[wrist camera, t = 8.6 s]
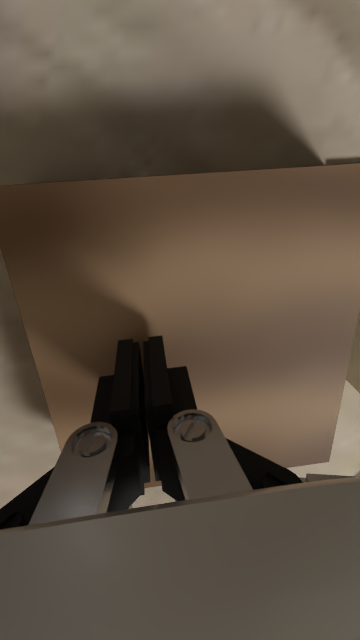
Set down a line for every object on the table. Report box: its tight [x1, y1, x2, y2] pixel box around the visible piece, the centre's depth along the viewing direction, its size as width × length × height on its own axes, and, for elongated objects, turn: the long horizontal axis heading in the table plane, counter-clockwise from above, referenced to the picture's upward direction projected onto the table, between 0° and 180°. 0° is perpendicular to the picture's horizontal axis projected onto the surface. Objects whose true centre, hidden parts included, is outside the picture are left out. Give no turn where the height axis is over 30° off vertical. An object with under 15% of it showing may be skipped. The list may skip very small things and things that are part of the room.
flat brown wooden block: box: [0, 163, 360, 488], centre depth 15 cm, size 14×13×4 cm
